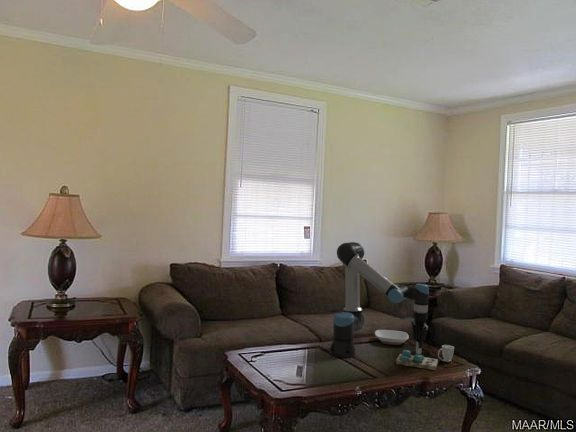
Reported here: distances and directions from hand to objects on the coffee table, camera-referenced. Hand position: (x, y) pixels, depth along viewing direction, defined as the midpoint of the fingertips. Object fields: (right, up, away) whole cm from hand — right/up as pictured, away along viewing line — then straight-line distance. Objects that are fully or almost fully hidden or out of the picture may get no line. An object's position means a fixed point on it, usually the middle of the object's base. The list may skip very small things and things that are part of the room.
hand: (418, 353), depth 266 cm
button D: (0, -4, 0) cm, 4 cm away
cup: (+16, -6, +4) cm, 18 cm away
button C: (-2, -3, -6) cm, 7 cm away
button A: (-9, -4, -4) cm, 10 cm away
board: (-2, -5, -3) cm, 6 cm away
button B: (-6, -3, +3) cm, 7 cm away
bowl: (-7, -5, +39) cm, 40 cm away
